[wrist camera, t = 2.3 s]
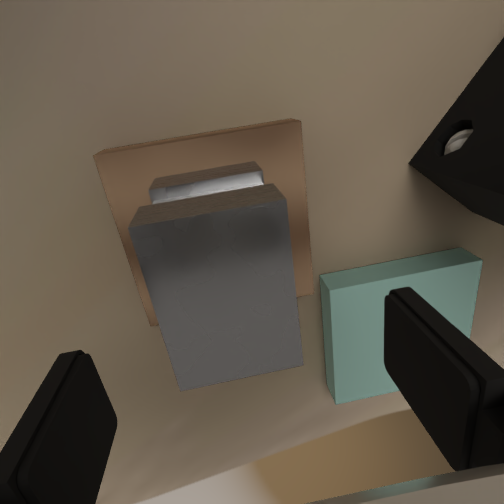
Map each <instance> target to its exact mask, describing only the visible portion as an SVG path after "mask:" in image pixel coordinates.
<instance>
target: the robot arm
mask: <svg viewBox="0 0 504 504" xmlns="http://www.w3.org/2000/svg"><path fill="white" fill-rule="evenodd" d="M384 365H385V368H386V371H387V373H388V374H389V376H390V377H391V379H392V380H393V382H394V383H395V384H396V386H397V387H398V389H399V390H400V392H401V393H402V395H403V396H404V398H405V399H406V401H407V402H408V404H409V405H410V407H411V408H412V410H413V411H414V413H415V414H416V416H417V417H418V418H419V420H420V421H421V423H422V424H423V426H424V427H425V429H426V430H427V432H428V433H429V435H430V436H431V438H432V439H433V441H434V442H435V444H436V445H437V446H438V448H439V449H440V451H441V453H442V454H443V455H444V457H445V458H446V460H447V461H448V463H449V464H450V466H451V467H452V468H453V469H454V470H455V471H457V472H452V473H447V474H441V475H436V476H432V477H427V478H421V479H416V480H412V481H407V482H403V483H398V484H394V485H389V486H384V487H380V488H376V489H370V490H366V491H361V492H357V493H353V494H347V495H343V496H338V497H334V498H329V499H325V500H320V501H315V502H311V503H307V504H504V369H503V368H501V367H500V366H499V365H498V364H497V363H496V362H495V361H494V360H492V359H491V358H490V357H489V356H488V355H487V354H486V353H485V352H483V351H482V350H481V349H480V348H479V347H478V346H477V345H476V344H474V343H473V342H472V341H471V340H470V339H469V338H468V337H467V336H465V335H464V334H463V333H462V332H461V331H460V330H459V329H458V328H456V327H455V326H454V325H453V324H452V323H450V322H449V321H448V320H447V319H446V318H445V317H444V316H443V315H441V314H440V313H439V312H438V311H437V310H436V309H435V308H434V307H432V306H431V305H430V304H429V303H428V302H427V301H426V300H425V299H423V298H422V297H421V296H420V295H419V294H418V293H417V292H416V291H414V290H413V289H412V288H411V287H403V288H397V289H392V290H390V292H389V295H386V296H385V299H384ZM116 429H117V417H116V414H115V411H114V409H113V407H112V404H111V402H110V400H109V397H108V395H107V393H106V390H105V388H104V386H103V383H102V381H101V379H100V376H99V374H98V372H97V369H96V367H95V365H94V362H93V360H92V358H91V356H90V355H89V354H85V353H84V352H83V351H82V350H77V351H72V352H67V353H62V354H60V355H59V356H58V357H57V359H56V361H55V362H54V364H53V366H52V367H51V369H50V371H49V372H48V374H47V376H46V377H45V379H44V381H43V382H42V384H41V386H40V387H39V389H38V391H37V392H36V394H35V396H34V397H33V399H32V401H31V402H30V404H29V406H28V407H27V409H26V411H25V412H24V414H23V416H22V417H21V419H20V421H19V422H18V424H17V426H16V427H15V429H14V431H13V432H12V434H11V436H10V437H9V439H8V441H7V442H6V444H5V446H4V447H3V449H2V451H1V452H0V504H95V503H96V499H97V496H98V492H99V489H100V485H101V482H102V478H103V475H104V471H105V468H106V464H107V461H108V457H109V454H110V450H111V446H112V443H113V439H114V436H115V432H116Z"/></svg>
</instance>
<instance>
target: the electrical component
mask: <svg viewBox="0 0 504 504" xmlns="http://www.w3.org/2000/svg"><path fill="white" fill-rule="evenodd" d="M408 164H410V165H411V166H412V167H414V168H415V169H416V170H418V171H419V172H420V173H422V174H423V175H424V176H426V177H427V178H428V179H430V180H431V181H432V182H434V183H435V184H436V185H437V186H439V187H440V188H441V189H443V190H444V191H445V192H447V193H448V194H449V195H451V196H452V197H453V198H455V199H456V200H457V201H459V202H460V203H461V204H463V205H464V206H465V207H466V208H468V209H469V210H470V211H472V212H474V213H476V214H478V215H481V216H483V217H485V218H488V219H490V220H492V221H495V222H497V223H499V224H502V225H504V38H503V39H502V40H501V42H500V43H499V44H498V46H497V47H496V48H495V50H494V51H493V52H492V54H491V55H490V56H489V57H488V59H487V60H486V61H485V63H484V64H483V65H482V67H481V68H480V69H479V71H478V72H477V73H476V75H475V76H474V77H473V79H472V80H471V81H470V83H469V84H468V85H467V87H466V88H465V89H464V91H463V92H462V93H461V95H460V96H459V97H458V99H457V100H456V101H455V102H454V104H453V105H452V106H451V108H450V109H449V110H448V112H447V113H446V114H445V116H444V117H443V118H442V120H441V121H440V122H439V124H438V125H437V126H436V128H435V129H434V130H433V132H432V133H431V134H430V136H429V137H428V138H427V140H426V141H425V142H424V144H423V145H422V146H421V147H420V149H419V150H418V151H417V153H416V154H415V155H414V157H413V158H412V159H411V161H410V162H409V163H408Z"/></svg>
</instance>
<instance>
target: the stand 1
mask: <svg viewBox="0 0 504 504" xmlns="http://www.w3.org/2000/svg"><path fill="white" fill-rule="evenodd" d="M93 157H94V160H95V163H96V166H97V169H98V172H99V175H100V178H101V181H102V184H103V187H104V190H105V193H106V196H107V199H108V202H109V205H110V208H111V211H112V213H113V216H114V219H115V222H116V225H117V228H118V231H119V234H120V237H121V240H122V243H123V246H124V249H125V252H126V255H127V258H128V261H129V264H130V267H131V270H132V273H133V276H134V279H135V282H136V285H137V288H138V291H139V294H140V297H141V300H142V302H143V305H144V308H145V311H146V314H147V317H148V320H149V323H150V326H155V325H159V323H158V320H157V317H156V314H155V311H154V308H153V305H152V302H151V299H150V295H149V292H148V289H147V286H146V283H145V280H144V277H143V274H142V271H141V268H140V264H139V261H138V258H137V255H136V252H135V249H134V246H133V243H132V240H131V237H130V234H129V230H128V226H129V224H130V223H131V221H132V219H133V217H134V215H135V213H136V212H137V210H138V208H139V207H140V206H146V205H152V202H151V199H150V195H149V191H148V190H149V188H150V186H151V184H152V182H153V181H154V179H155V178H158V177H164V176H169V175H175V174H181V173H187V172H193V171H198V170H204V169H210V168H216V167H222V166H227V165H233V164H239V163H245V162H250V161H255V162H256V163H257V164H258V165H259V167H260V168H261V169H262V170H263V177H264V184H270V183H274V185H275V186H276V187H277V188H278V189H279V191H280V192H281V193H282V194H283V195H284V197H285V198H286V199H287V209H288V219H289V229H290V238H291V248H292V258H293V267H294V277H295V287H296V297H300V296H305V295H310V294H314V287H313V274H312V261H311V247H310V234H309V221H308V208H307V195H306V182H305V169H304V156H303V143H302V129H301V121H299V120H295V119H285V120H279V121H273V122H267V123H261V124H255V125H249V126H243V127H237V128H231V129H224V130H218V131H212V132H206V133H200V134H194V135H188V136H182V137H176V138H170V139H164V140H158V141H152V142H146V143H140V144H134V145H128V146H122V147H116V148H110V149H104V150H102V151H100V152H99V153H97V154H95V155H93Z"/></svg>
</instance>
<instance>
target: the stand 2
mask: <svg viewBox="0 0 504 504" xmlns="http://www.w3.org/2000/svg"><path fill="white" fill-rule="evenodd" d="M482 262H483V260H482V259H480V258H479V257H477V256H475V255H473V254H472V253H470V252H468V251H467V250H465V249H463V248H461V247H460V248H455V249H450V250H445V251H440V252H435V253H430V254H424V255H419V256H414V257H409V258H404V259H399V260H394V261H389V262H384V263H379V264H374V265H369V266H363V267H358V268H353V269H348V270H343V271H338V272H333V273H328V274H323V275H320V289H321V304H322V319H323V334H324V349H325V365H326V380H327V386H328V388H329V390H330V393H331V395H332V397H333V399H334V402H335V404H336V405H337V404H341V403H346V402H350V401H355V400H359V399H364V398H368V397H373V396H377V395H382V394H386V393H391V392H395V391H400V390H399V389H398V387H397V386H396V384H395V383H394V382H393V380H392V379H391V377H390V376H389V374H388V373H387V371H386V368H385V365H384V299H385V296H386V295H389V292H390V290H392V289H397V288H403V287H411V288H412V289H413V290H414V291H416V292H417V293H418V294H419V295H420V296H421V297H422V298H423V299H425V300H426V301H427V302H428V303H429V304H430V305H431V306H432V307H434V308H435V309H436V310H437V311H438V312H439V313H440V314H441V315H443V316H444V317H445V318H446V319H447V320H448V321H449V322H450V323H452V324H453V325H454V326H455V327H456V328H458V329H459V330H460V331H461V332H462V333H463V334H464V335H465V336H467V337H468V338H469V339H470V333H471V328H472V322H473V316H474V310H475V304H476V298H477V292H478V286H479V280H480V274H481V268H482Z"/></svg>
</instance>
